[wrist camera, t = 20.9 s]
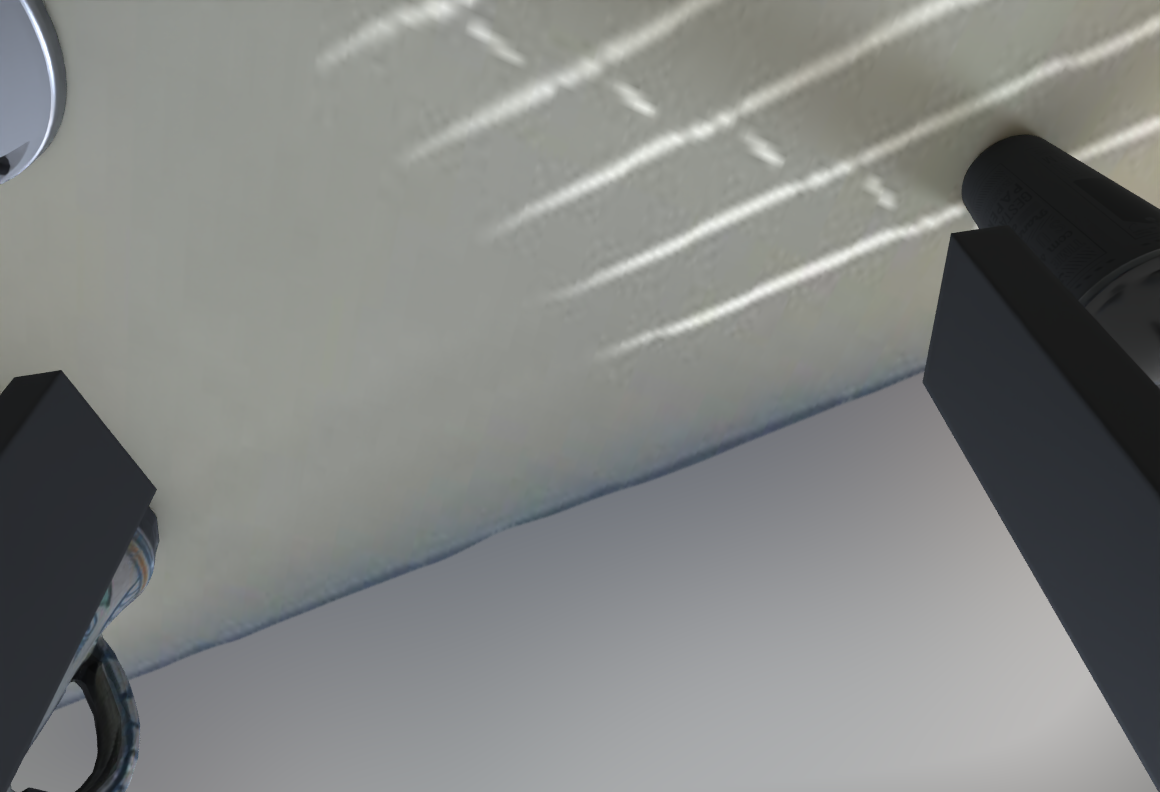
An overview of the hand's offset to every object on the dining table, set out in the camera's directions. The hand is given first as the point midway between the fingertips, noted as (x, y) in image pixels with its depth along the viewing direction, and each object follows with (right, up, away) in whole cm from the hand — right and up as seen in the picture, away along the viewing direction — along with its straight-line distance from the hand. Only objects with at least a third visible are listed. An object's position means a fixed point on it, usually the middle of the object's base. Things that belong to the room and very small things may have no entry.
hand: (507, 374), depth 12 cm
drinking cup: (+24, +12, +30) cm, 40 cm away
